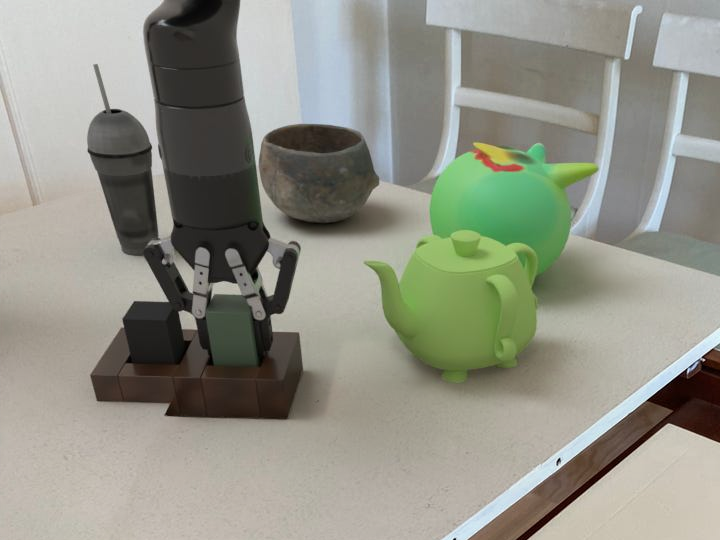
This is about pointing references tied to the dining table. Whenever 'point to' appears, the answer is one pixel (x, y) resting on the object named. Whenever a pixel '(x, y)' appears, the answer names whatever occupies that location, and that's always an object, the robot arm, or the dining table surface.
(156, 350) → the pin
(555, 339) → the dining table surface
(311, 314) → the dining table surface
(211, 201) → the robot arm
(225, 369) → the wooden socket block
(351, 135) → the bowl
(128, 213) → the beverage cup
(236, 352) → the pin
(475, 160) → the toy bird
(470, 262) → the teapot
